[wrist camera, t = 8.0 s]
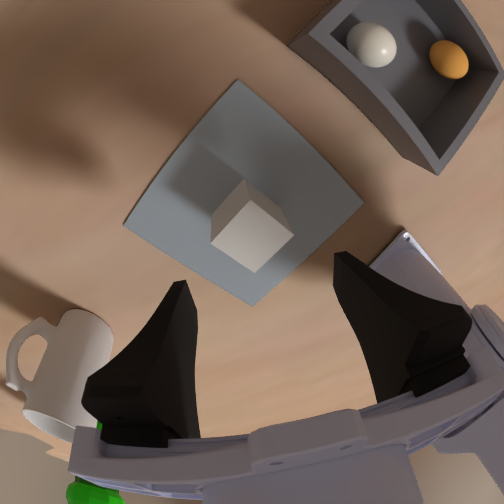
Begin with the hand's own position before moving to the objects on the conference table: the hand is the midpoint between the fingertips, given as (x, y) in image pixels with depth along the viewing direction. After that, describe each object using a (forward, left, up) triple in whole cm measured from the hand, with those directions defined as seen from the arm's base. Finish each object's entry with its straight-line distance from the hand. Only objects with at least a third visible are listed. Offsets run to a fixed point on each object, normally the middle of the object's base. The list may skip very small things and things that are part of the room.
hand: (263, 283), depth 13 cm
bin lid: (0, 0, -9) cm, 9 cm away
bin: (-1, -17, -8) cm, 19 cm away
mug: (+8, +19, -8) cm, 22 cm away
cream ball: (+2, -14, -6) cm, 16 cm away
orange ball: (-3, -19, -6) cm, 21 cm away
